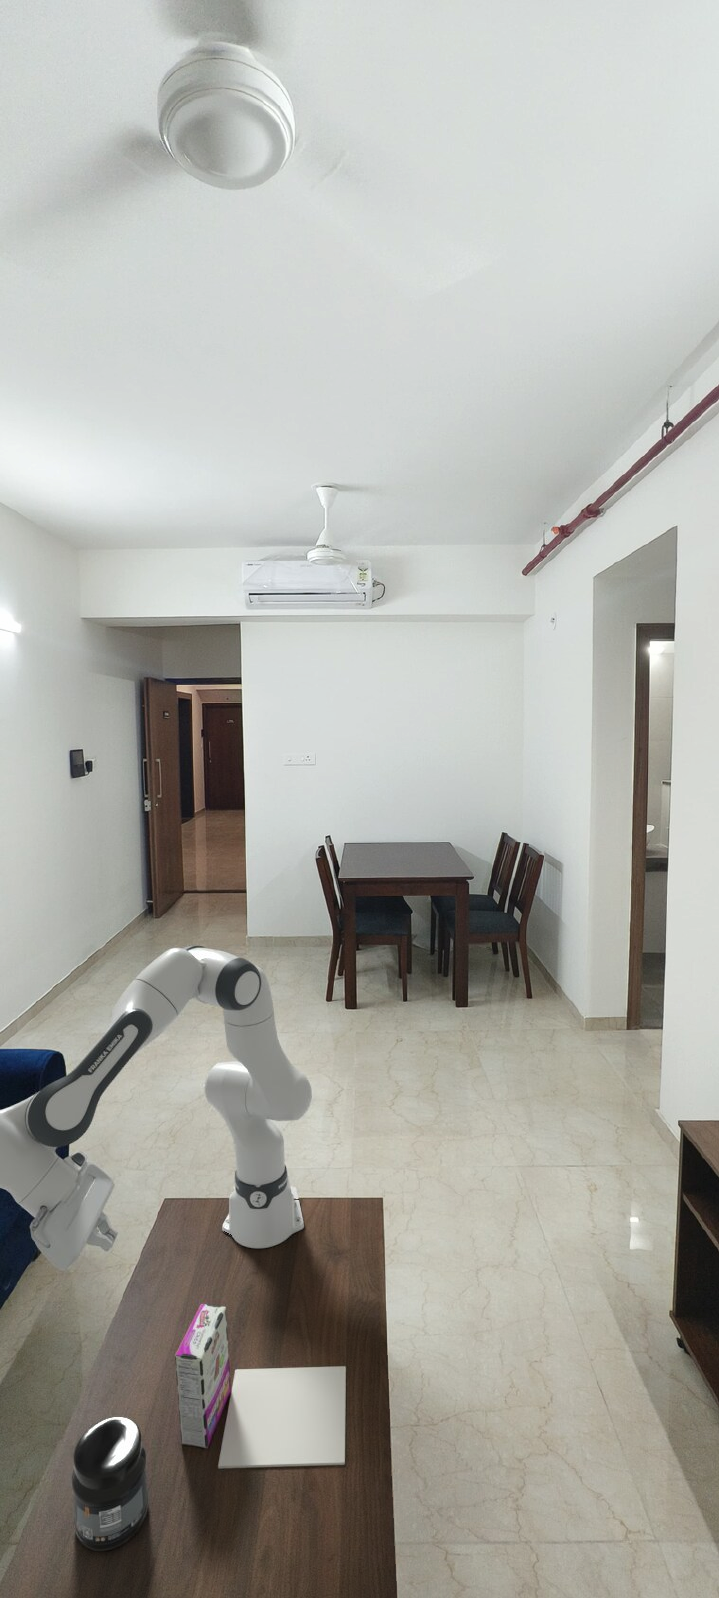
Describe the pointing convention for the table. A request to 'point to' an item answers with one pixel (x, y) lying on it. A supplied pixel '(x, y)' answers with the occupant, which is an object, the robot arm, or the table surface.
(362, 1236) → the table surface
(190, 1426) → the candy bar box
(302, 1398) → the mat
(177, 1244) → the table surface
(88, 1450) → the supplement container
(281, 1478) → the table surface
